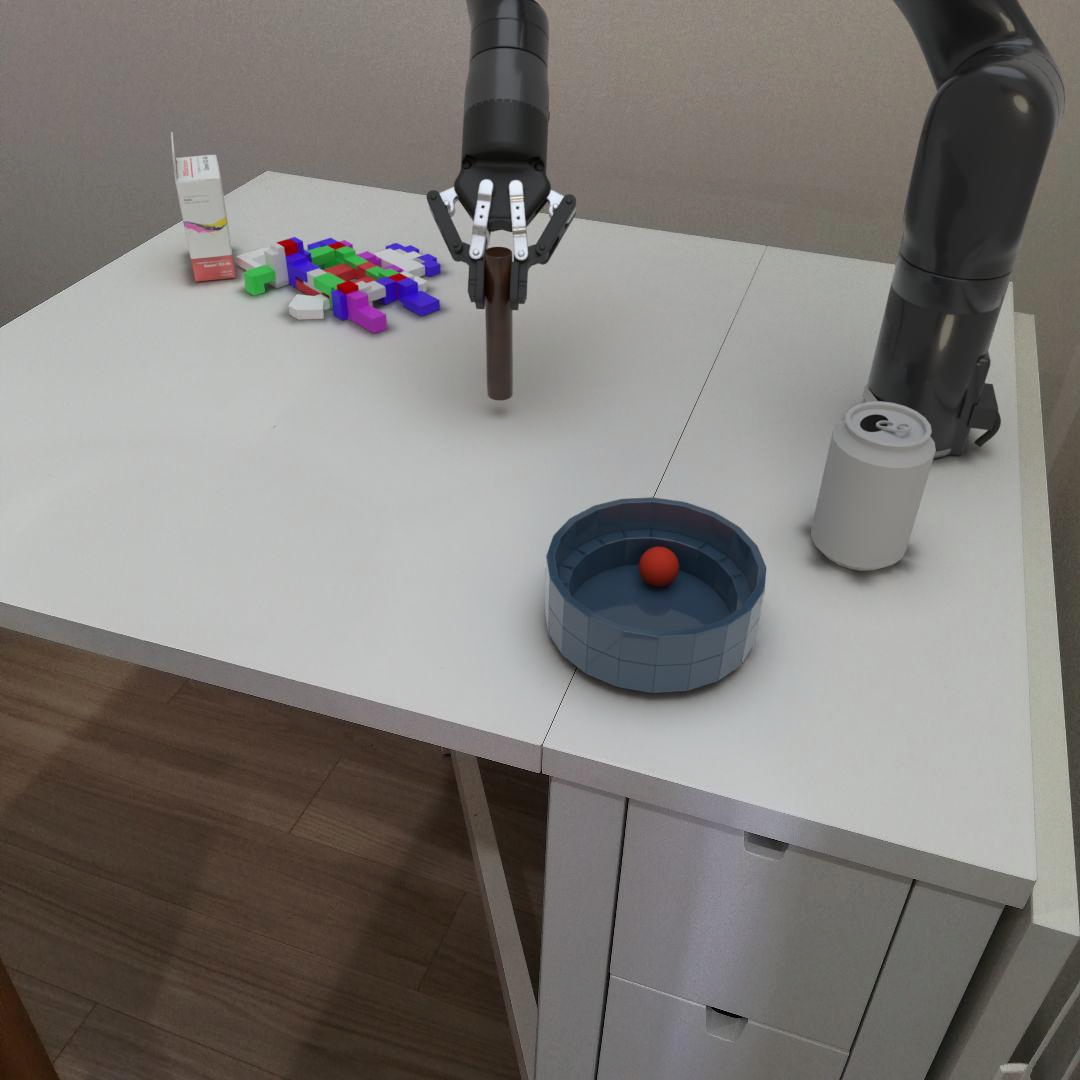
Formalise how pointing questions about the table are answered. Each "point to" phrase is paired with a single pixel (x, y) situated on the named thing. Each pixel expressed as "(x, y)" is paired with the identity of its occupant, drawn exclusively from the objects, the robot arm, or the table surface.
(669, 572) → the ball
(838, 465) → the can
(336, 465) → the table surface
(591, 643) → the bowl
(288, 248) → the building block set
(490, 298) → the stick
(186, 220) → the ink cartridge box
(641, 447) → the table surface
